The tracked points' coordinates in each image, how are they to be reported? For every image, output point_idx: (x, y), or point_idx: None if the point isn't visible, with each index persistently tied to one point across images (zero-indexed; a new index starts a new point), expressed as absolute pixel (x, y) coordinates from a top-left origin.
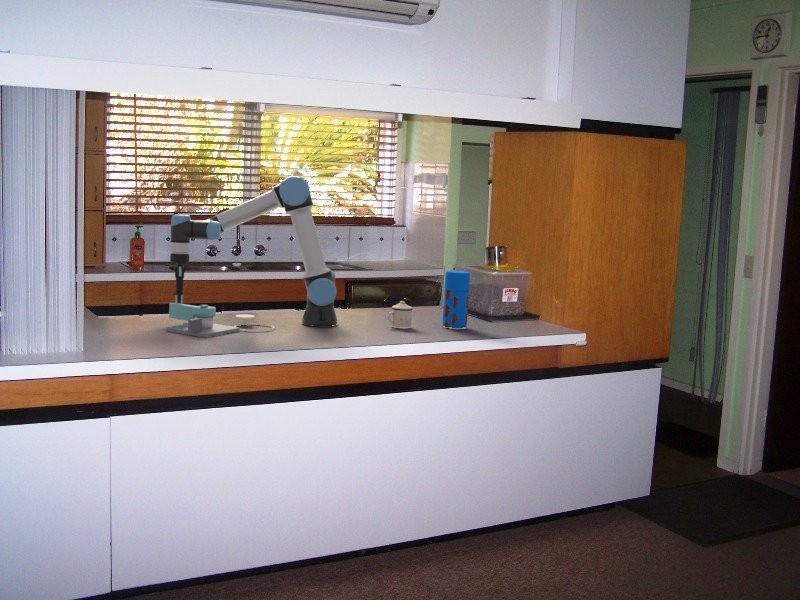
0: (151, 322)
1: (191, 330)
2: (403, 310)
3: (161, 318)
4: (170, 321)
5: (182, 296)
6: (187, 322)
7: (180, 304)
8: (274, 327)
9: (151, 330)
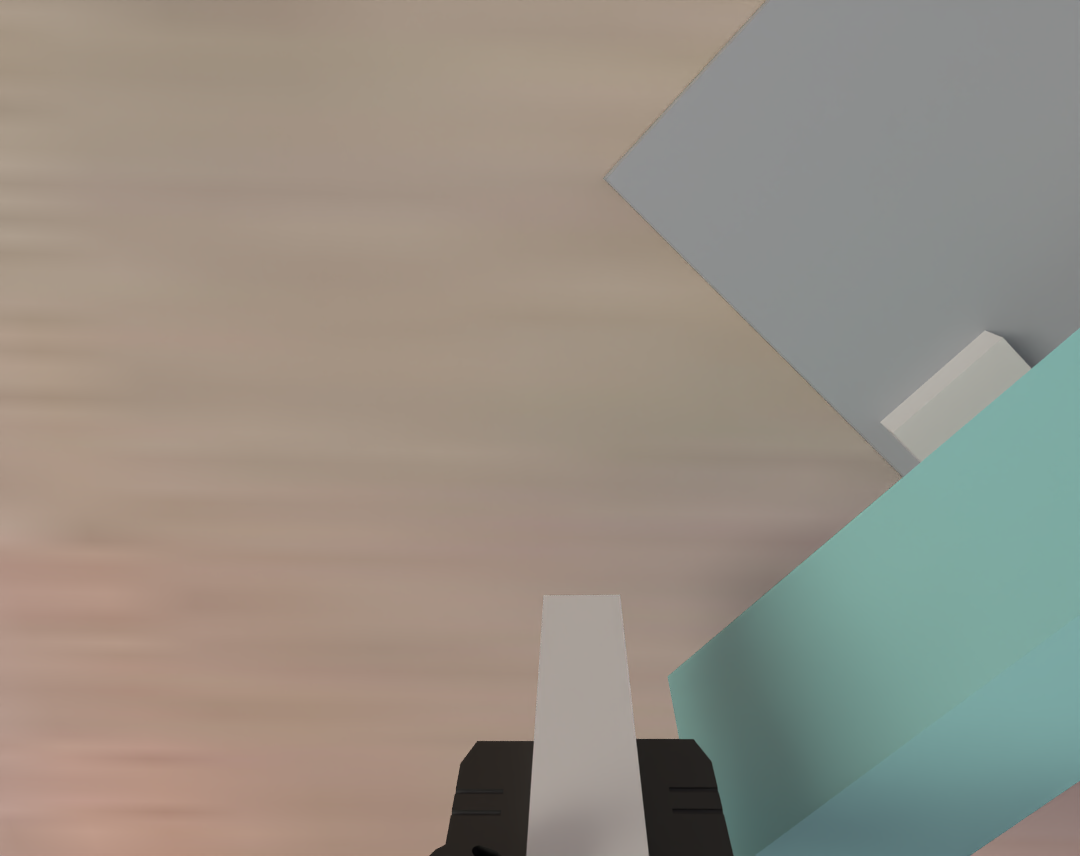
0: (410, 838)
1: None
2: None
3: (61, 727)
4: (291, 625)
5: (646, 836)
6: (925, 440)
7: (1028, 765)
8: None
9: (1022, 846)
